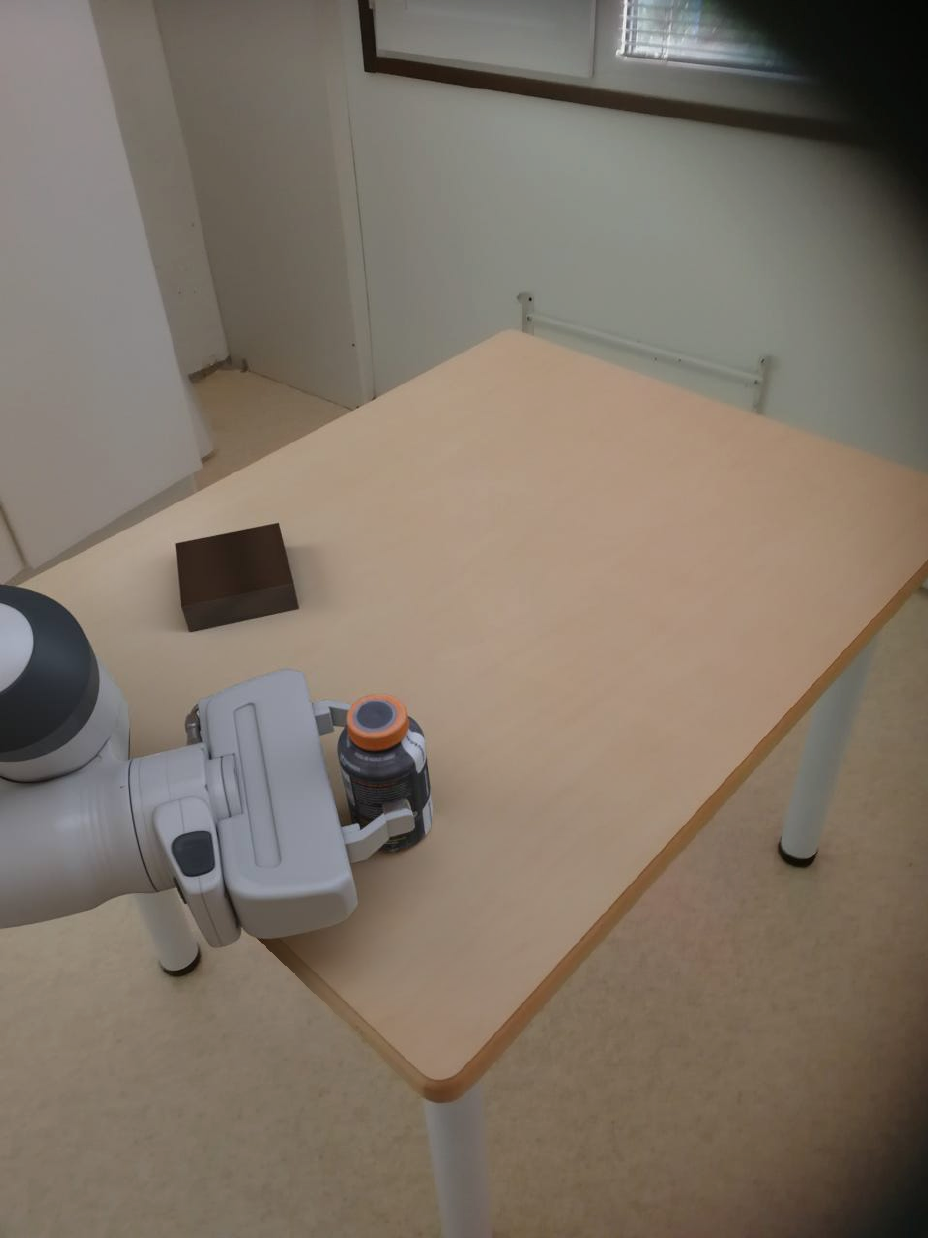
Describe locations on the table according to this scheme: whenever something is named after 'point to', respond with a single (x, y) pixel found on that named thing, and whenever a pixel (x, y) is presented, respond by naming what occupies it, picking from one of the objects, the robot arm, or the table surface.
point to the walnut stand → (234, 577)
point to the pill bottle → (385, 766)
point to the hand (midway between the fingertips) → (395, 761)
